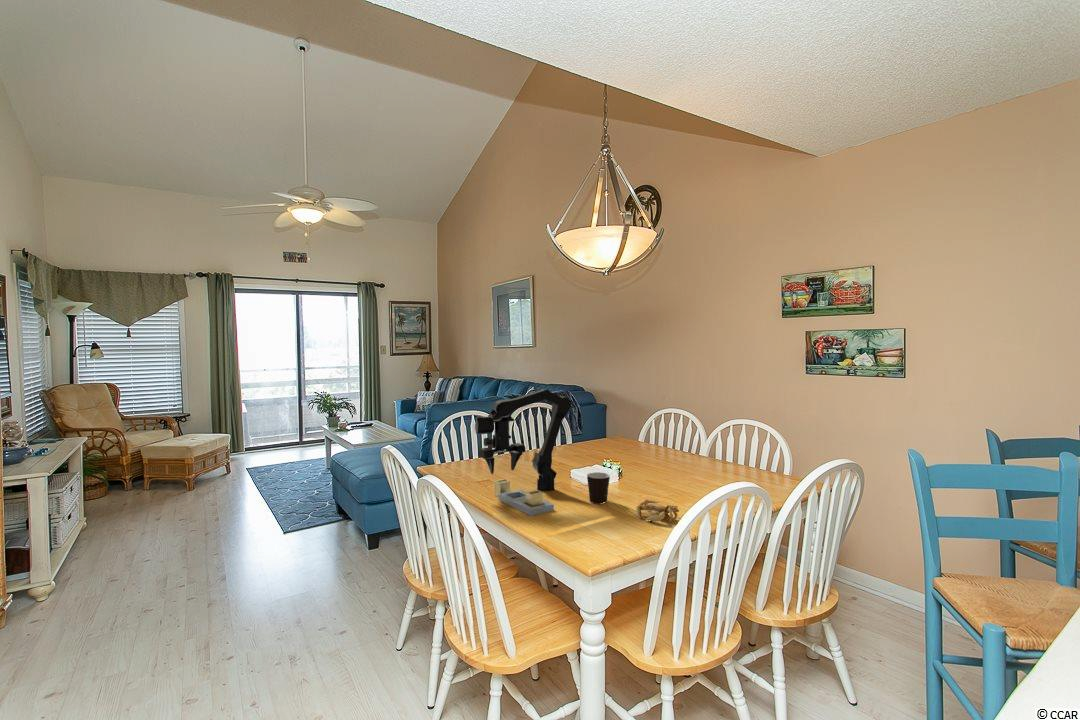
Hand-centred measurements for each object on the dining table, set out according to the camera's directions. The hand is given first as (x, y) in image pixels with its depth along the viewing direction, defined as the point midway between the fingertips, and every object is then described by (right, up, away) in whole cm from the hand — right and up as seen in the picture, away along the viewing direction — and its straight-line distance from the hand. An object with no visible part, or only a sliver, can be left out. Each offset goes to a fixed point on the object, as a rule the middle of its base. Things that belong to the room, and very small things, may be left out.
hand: (502, 472), depth 198 cm
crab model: (+55, -11, -24) cm, 61 cm away
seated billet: (+13, -9, -18) cm, 24 cm away
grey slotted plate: (+9, -10, -13) cm, 19 cm away
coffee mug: (+36, -10, -8) cm, 38 cm away
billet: (0, -10, 0) cm, 10 cm away
